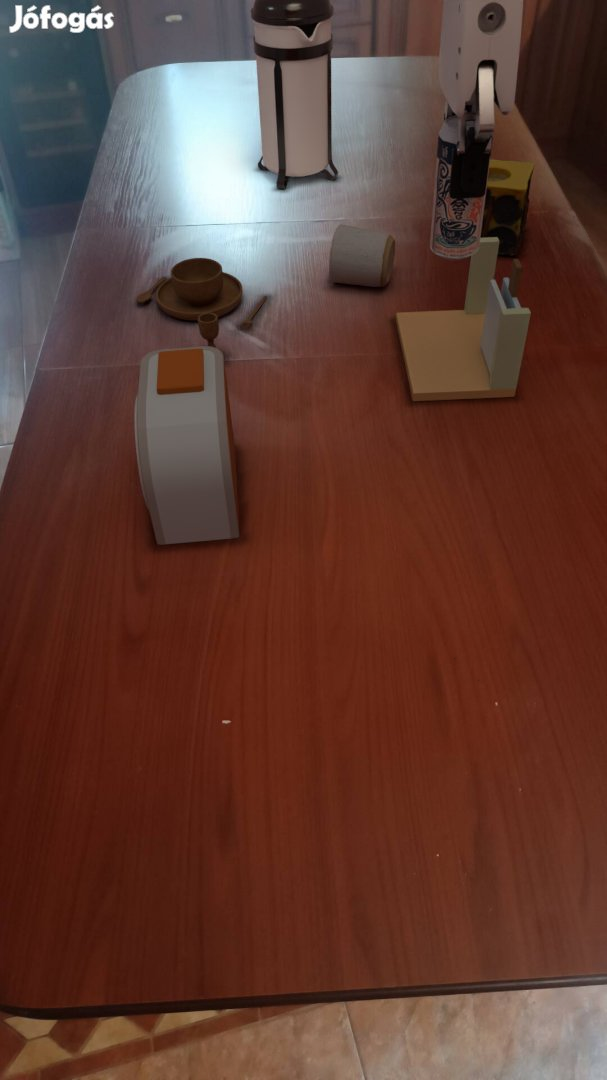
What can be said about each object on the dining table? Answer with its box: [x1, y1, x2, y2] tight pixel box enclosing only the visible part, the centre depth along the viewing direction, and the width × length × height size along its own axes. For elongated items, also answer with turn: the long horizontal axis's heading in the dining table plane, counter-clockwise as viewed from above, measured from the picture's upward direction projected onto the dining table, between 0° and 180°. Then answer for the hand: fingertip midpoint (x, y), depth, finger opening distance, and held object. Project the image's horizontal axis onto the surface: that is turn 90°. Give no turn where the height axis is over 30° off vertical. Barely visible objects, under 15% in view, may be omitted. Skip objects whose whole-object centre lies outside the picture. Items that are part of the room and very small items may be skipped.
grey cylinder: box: [328, 224, 396, 288], centre depth 112 cm, size 11×8×8 cm
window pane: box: [500, 258, 523, 309], centre depth 92 cm, size 1×7×12 cm, turn 1°
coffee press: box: [250, 0, 339, 190], centre depth 131 cm, size 17×16×30 cm
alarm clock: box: [133, 345, 241, 546], centre depth 79 cm, size 15×8×14 cm, turn 5°
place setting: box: [135, 257, 268, 348], centre depth 106 cm, size 18×20×6 cm
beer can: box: [429, 115, 494, 261], centre depth 75 cm, size 5×5×12 cm
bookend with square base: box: [395, 237, 532, 402], centre depth 96 cm, size 12×18×11 cm, turn 2°
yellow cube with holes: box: [480, 159, 536, 257], centre depth 118 cm, size 10×10×10 cm
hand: (461, 182), depth 74 cm, fingers closed on beer can, 4 cm apart
